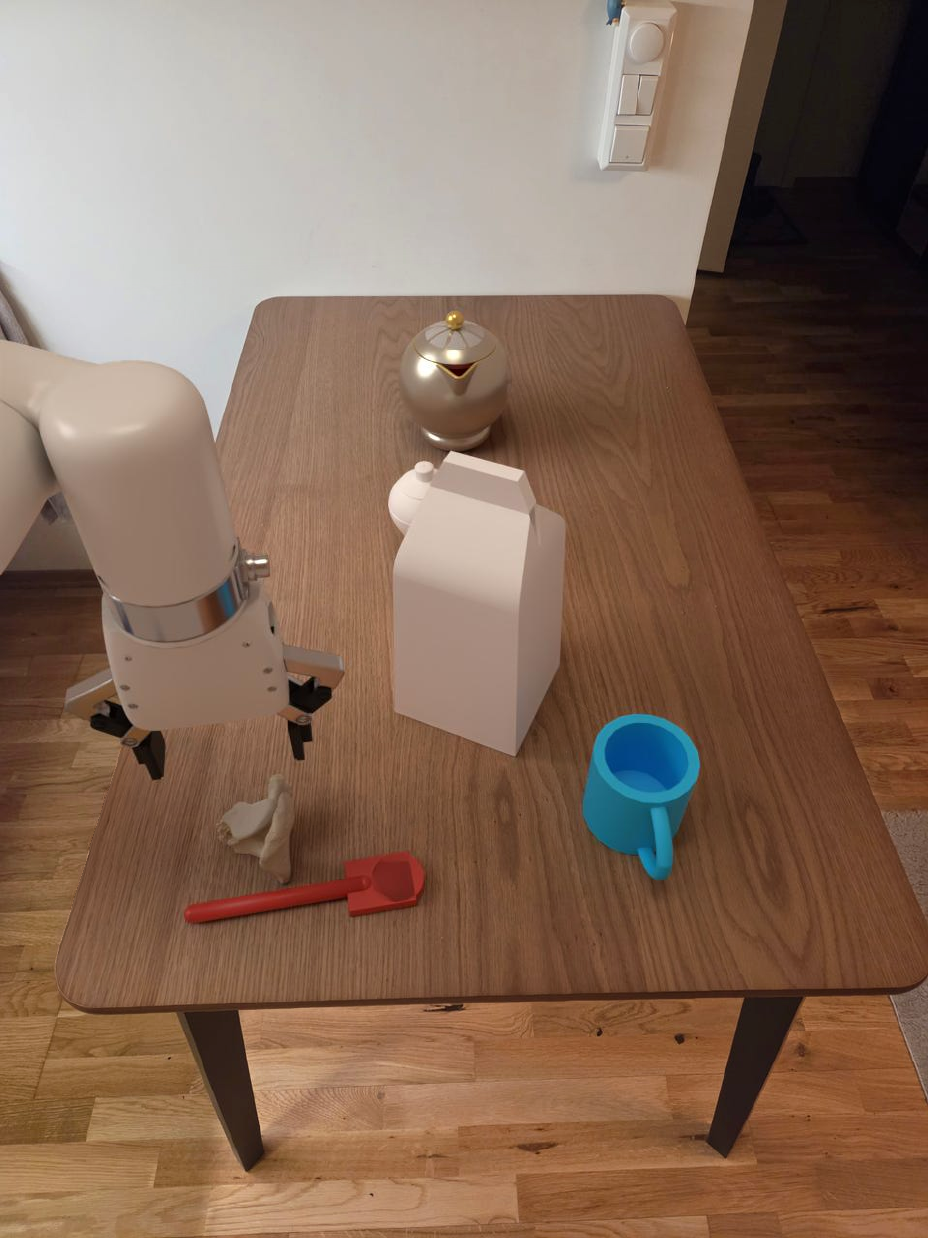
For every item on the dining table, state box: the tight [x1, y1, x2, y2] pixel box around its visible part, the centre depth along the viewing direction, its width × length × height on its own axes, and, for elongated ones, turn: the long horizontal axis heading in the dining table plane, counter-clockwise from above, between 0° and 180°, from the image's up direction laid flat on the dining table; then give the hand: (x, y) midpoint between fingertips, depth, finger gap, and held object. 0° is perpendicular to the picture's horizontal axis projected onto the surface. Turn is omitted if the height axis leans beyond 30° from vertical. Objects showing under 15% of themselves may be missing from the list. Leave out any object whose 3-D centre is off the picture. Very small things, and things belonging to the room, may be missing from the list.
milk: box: [392, 451, 567, 758], centre depth 72 cm, size 12×12×26 cm
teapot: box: [397, 310, 513, 452], centre depth 104 cm, size 18×14×16 cm
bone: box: [215, 773, 296, 886], centre depth 67 cm, size 9×6×10 cm
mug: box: [582, 713, 701, 882], centre depth 68 cm, size 12×8×8 cm
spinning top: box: [387, 460, 439, 537], centre depth 89 cm, size 8×8×12 cm
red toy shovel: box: [183, 850, 426, 924], centre depth 67 cm, size 18×4×1 cm, turn 100°
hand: (230, 753), depth 61 cm, fingers open, 9 cm apart
